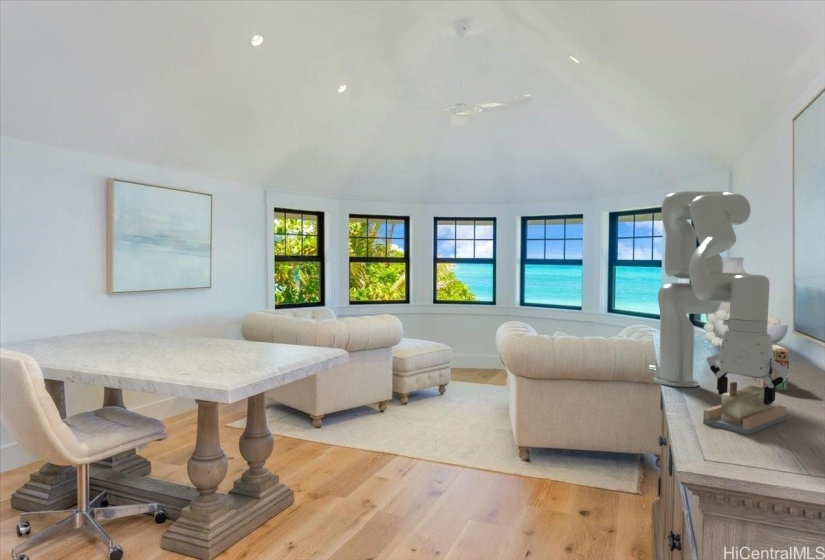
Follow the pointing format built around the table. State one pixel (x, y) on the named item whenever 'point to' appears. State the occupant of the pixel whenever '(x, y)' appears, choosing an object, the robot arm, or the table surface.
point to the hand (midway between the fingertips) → (744, 398)
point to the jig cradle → (745, 420)
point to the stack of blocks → (783, 359)
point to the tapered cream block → (742, 403)
